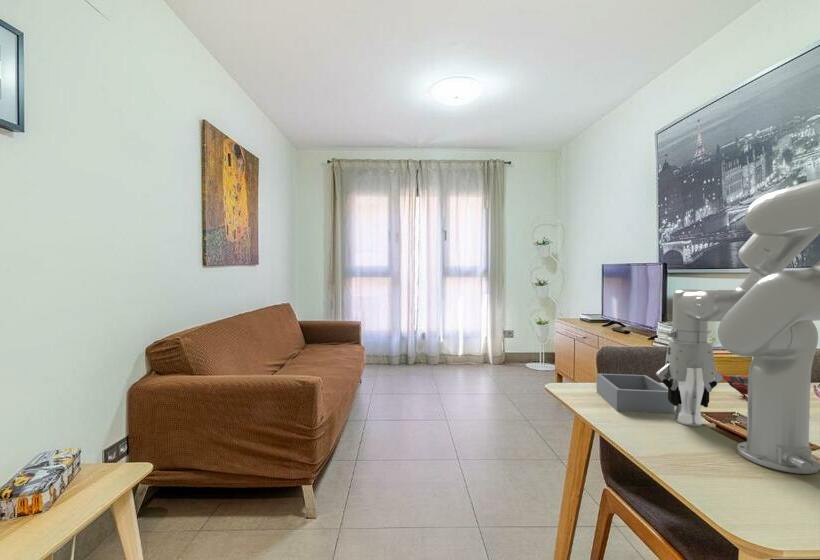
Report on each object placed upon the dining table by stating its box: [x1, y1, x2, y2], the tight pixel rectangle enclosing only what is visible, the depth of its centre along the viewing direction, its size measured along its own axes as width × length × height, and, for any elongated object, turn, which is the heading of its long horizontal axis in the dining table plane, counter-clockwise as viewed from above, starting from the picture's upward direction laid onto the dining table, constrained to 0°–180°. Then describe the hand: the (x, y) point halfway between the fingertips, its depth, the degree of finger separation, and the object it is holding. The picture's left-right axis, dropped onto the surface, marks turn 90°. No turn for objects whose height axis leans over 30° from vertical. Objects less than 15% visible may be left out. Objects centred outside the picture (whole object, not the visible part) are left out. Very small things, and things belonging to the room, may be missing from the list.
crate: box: [596, 373, 675, 415], centre depth 120 cm, size 18×15×6 cm
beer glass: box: [673, 367, 705, 427], centre depth 104 cm, size 7×7×15 cm
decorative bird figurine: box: [718, 372, 749, 401], centre depth 124 cm, size 3×18×10 cm, turn 14°
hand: (688, 404), depth 104 cm, fingers closed on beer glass, 6 cm apart
